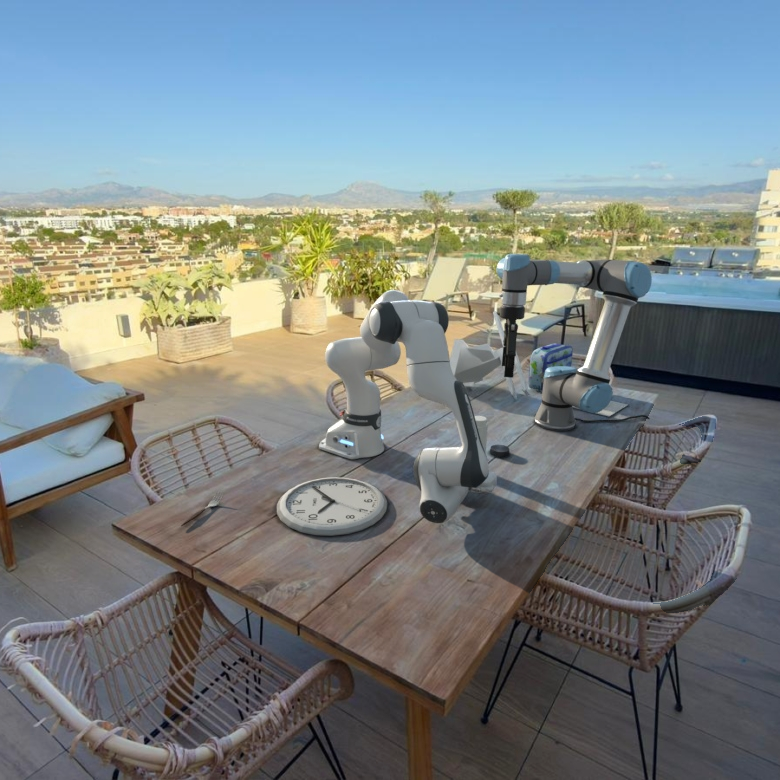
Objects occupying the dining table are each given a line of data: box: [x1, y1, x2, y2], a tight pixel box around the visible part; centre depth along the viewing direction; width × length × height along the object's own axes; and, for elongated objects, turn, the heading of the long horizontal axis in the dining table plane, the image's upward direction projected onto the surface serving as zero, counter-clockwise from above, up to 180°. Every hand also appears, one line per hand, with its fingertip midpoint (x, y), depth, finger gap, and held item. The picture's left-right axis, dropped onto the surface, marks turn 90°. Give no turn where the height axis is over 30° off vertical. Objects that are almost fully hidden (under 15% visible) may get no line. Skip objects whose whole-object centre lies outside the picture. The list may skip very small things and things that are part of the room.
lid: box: [489, 444, 511, 459], centre depth 177 cm, size 6×6×2 cm
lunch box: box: [528, 343, 574, 392], centre depth 249 cm, size 26×11×21 cm, turn 134°
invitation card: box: [573, 400, 629, 418], centre depth 226 cm, size 21×1×15 cm
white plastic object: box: [449, 310, 531, 400], centre depth 245 cm, size 37×45×31 cm
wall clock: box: [276, 476, 388, 537], centre depth 142 cm, size 30×2×30 cm
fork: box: [180, 491, 225, 527], centre depth 138 cm, size 3×16×2 cm, turn 160°
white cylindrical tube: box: [474, 415, 489, 455], centre depth 161 cm, size 6×6×18 cm
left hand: (467, 465), depth 153 cm, fingers open, 8 cm apart
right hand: (507, 371), depth 169 cm, fingers open, 13 cm apart
